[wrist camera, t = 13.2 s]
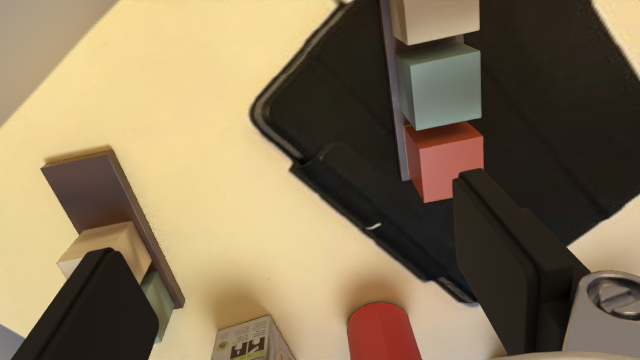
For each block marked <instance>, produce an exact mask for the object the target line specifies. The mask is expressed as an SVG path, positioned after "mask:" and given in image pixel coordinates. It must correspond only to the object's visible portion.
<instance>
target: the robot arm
mask: <svg viewBox="0 0 640 360" xmlns="http://www.w3.org/2000/svg"><path fill="white" fill-rule="evenodd" d="M452 193H453V211H454V229H455V247H456V259H457V263H458V265H459V268H460V270H461V272H462V273H463V275H464V277H465V279H466V280H467V282H468V284H469V286H470V288H471V289H472V291H473V293H474V295H475V296H476V298H477V300H478V302H479V304H480V305H481V307H482V309H483V311H484V312H485V314H486V316H487V318H488V319H489V321H490V323H491V325H492V327H493V328H494V330H495V332H496V334H497V335H498V337H499V339H500V341H501V343H502V344H503V346H504V348H505V350H506V351H507V353H508V355H509V356H506V357H498V358H492V359H486V360H640V277H639V276H636V275H633V274H629V273H626V272H620V271H612V270H609V271H597V272H593V273H591V272H590V271H589V270H588V269H587V268H586V267H585V266H584V265H583V264H582V263H581V262H580V261H579V260H578V259H577V258H576V256H575V255H574V254H573V253H572V252H571V251H570V250H569V249H568V248H567V247H566V246H565V245H564V244H563V243H562V242H561V241H560V240H559V239H558V238H557V237H556V236H555V235H554V234H553V233H552V232H551V231H550V230H549V229H548V228H547V227H546V226H545V225H544V224H543V223H542V222H541V221H540V220H539V219H538V218H537V217H536V216H535V215H534V214H533V213H532V212H531V211H530V210H528V209H526V208H520V207H519V206H518V205H517V204H516V203H515V202H514V201H513V200H512V199H511V198H510V197H509V196H508V195H507V194H506V193H505V192H504V191H503V190H502V189H501V187H500V186H499V185H498V184H497V183H496V182H495V181H494V180H493V179H492V178H491V177H490V176H489V175H488V174H487V173H486V172H485V171H484V170H483V169H482V168H476V169H472V170H467V171H462V172H459V174H458V178H455V179H453V180H452ZM158 331H159V319H158V317H157V315H156V313H155V311H154V309H153V308H152V306H151V304H150V302H149V301H148V299H147V297H146V295H145V294H144V292H143V290H142V288H141V286H140V285H139V283H138V281H137V279H136V278H135V276H134V274H133V272H132V271H131V269H130V267H129V265H128V263H127V262H126V260H125V258H124V256H123V255H122V253H121V252H120V251H115V250H114V249H113V248H111V247H107V248H102V249H97V250H93V251H89V252H87V253H86V254H85V255H84V257H83V258H82V260H81V261H80V263H79V264H78V265H77V267H76V268H75V270H74V271H73V272H72V274H71V275H70V277H69V278H68V280H67V281H66V282H65V284H64V285H63V287H62V288H61V289H60V291H59V292H58V294H57V295H56V296H55V298H54V299H53V301H52V302H51V304H50V305H49V306H48V308H47V309H46V311H45V312H44V313H43V315H42V316H41V318H40V319H39V321H38V322H37V323H36V325H35V326H34V328H33V329H32V330H31V332H30V333H29V335H28V336H27V338H26V339H25V340H24V342H23V343H22V345H21V346H20V347H19V349H18V351H17V352H16V353H15V354H14V356H13V357H12V359H11V360H148V359H149V356H150V353H151V350H152V348H153V345H154V342H155V339H156V337H157V334H158Z"/></svg>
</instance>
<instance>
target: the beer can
mask: <svg viewBox="0 0 640 360" xmlns="http://www.w3.org/2000/svg"><path fill="white" fill-rule="evenodd" d="M347 335H348V343H349V350H350V357H351V360H422V358H421V355H420V352H419V349H418V346H417V343H416V340H415V337H414V334H413V330H412V327H411V324H410V321H409V318H408V315H407V314H406V313H405V312H404V311H403V310H402V309H401V308H399V307H398V306H396V305H394V304H390V303H385V302H379V303H372V304H368V305H365V306H363V307H362V308H360V309H358V310H357V311H356V312H355V313H354V314H353V315H352V316H351V318H350V320H349V322H348V324H347Z"/></svg>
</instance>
